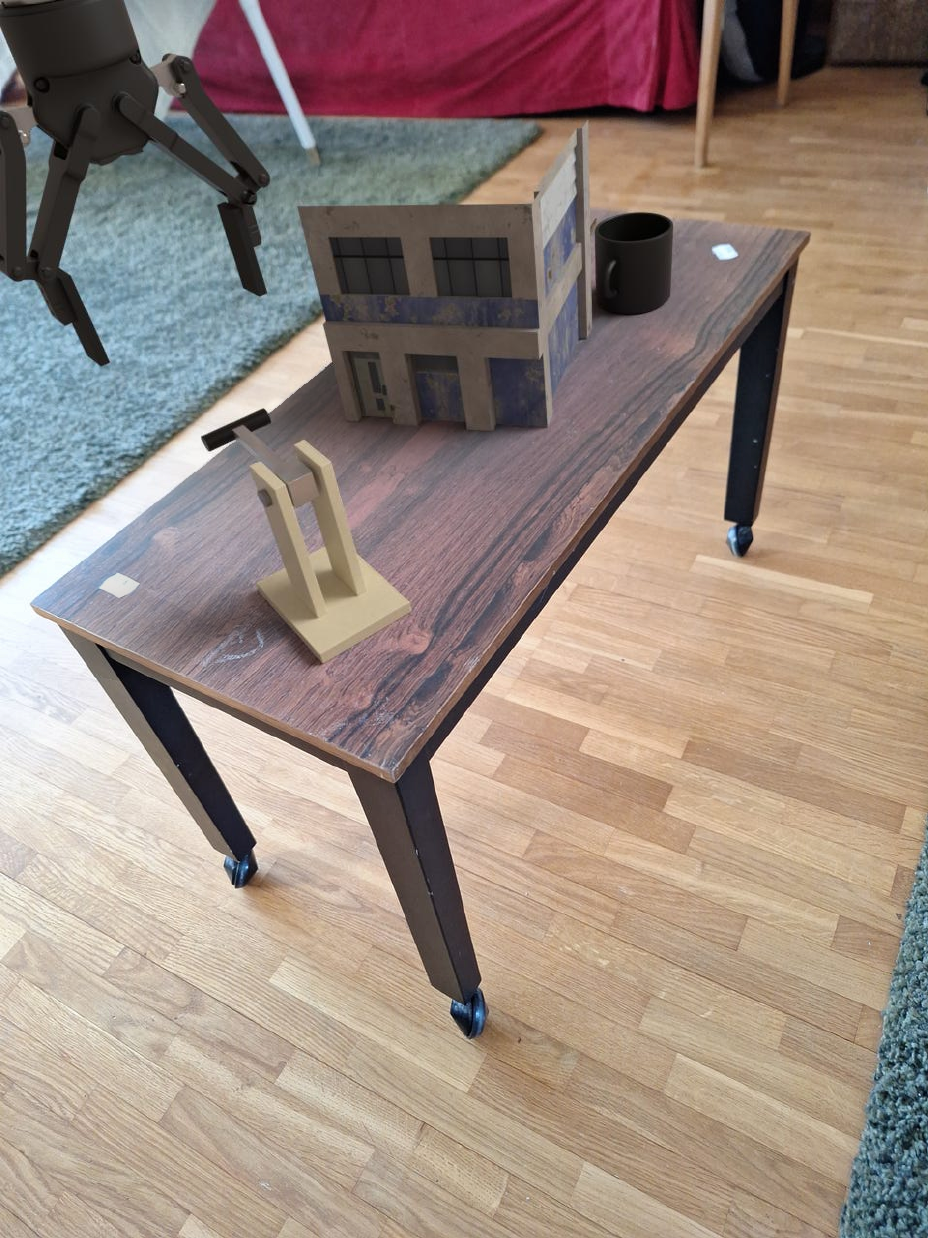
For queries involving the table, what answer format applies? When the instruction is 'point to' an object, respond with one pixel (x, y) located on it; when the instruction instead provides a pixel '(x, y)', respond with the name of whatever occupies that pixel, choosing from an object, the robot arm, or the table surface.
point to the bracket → (323, 567)
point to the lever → (266, 455)
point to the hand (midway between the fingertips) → (180, 324)
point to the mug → (633, 262)
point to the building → (457, 300)
